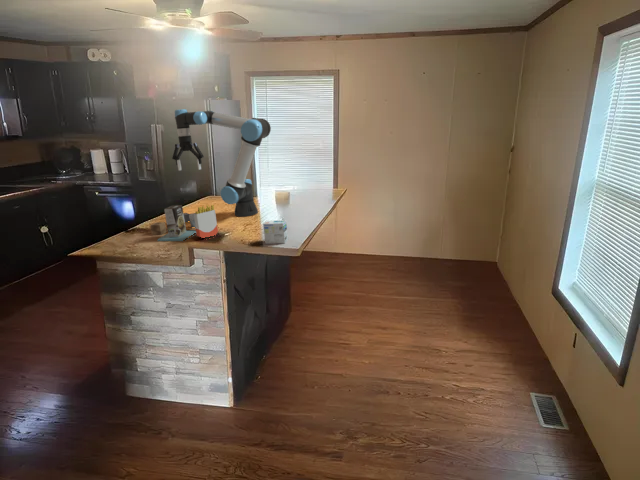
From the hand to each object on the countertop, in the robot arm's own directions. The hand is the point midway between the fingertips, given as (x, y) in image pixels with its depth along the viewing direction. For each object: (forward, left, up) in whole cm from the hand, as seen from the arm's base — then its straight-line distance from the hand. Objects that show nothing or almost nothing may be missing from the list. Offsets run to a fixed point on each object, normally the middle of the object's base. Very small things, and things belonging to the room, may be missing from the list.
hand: (189, 170), depth 275 cm
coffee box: (-8, +40, -31) cm, 51 cm away
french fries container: (-27, +42, -32) cm, 59 cm away
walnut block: (+8, +33, -32) cm, 47 cm away
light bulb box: (-69, +50, -32) cm, 91 cm away
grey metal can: (-9, +20, -32) cm, 39 cm away
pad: (-8, +40, -32) cm, 52 cm away
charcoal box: (+6, +8, -32) cm, 33 cm away
